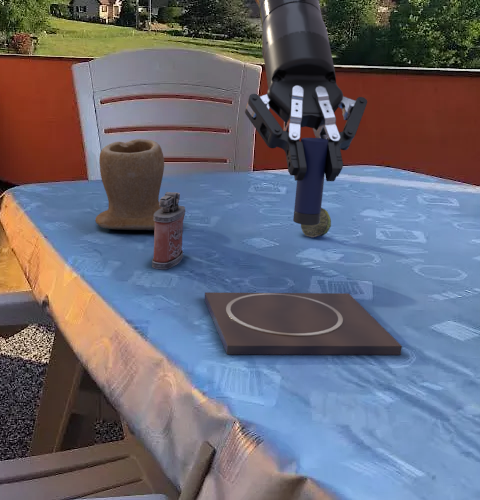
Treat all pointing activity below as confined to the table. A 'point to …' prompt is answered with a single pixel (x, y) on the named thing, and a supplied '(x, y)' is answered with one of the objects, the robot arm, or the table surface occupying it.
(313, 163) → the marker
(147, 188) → the stone cup
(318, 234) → the lime
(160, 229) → the lighter
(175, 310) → the table surface
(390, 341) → the brown wooden board
